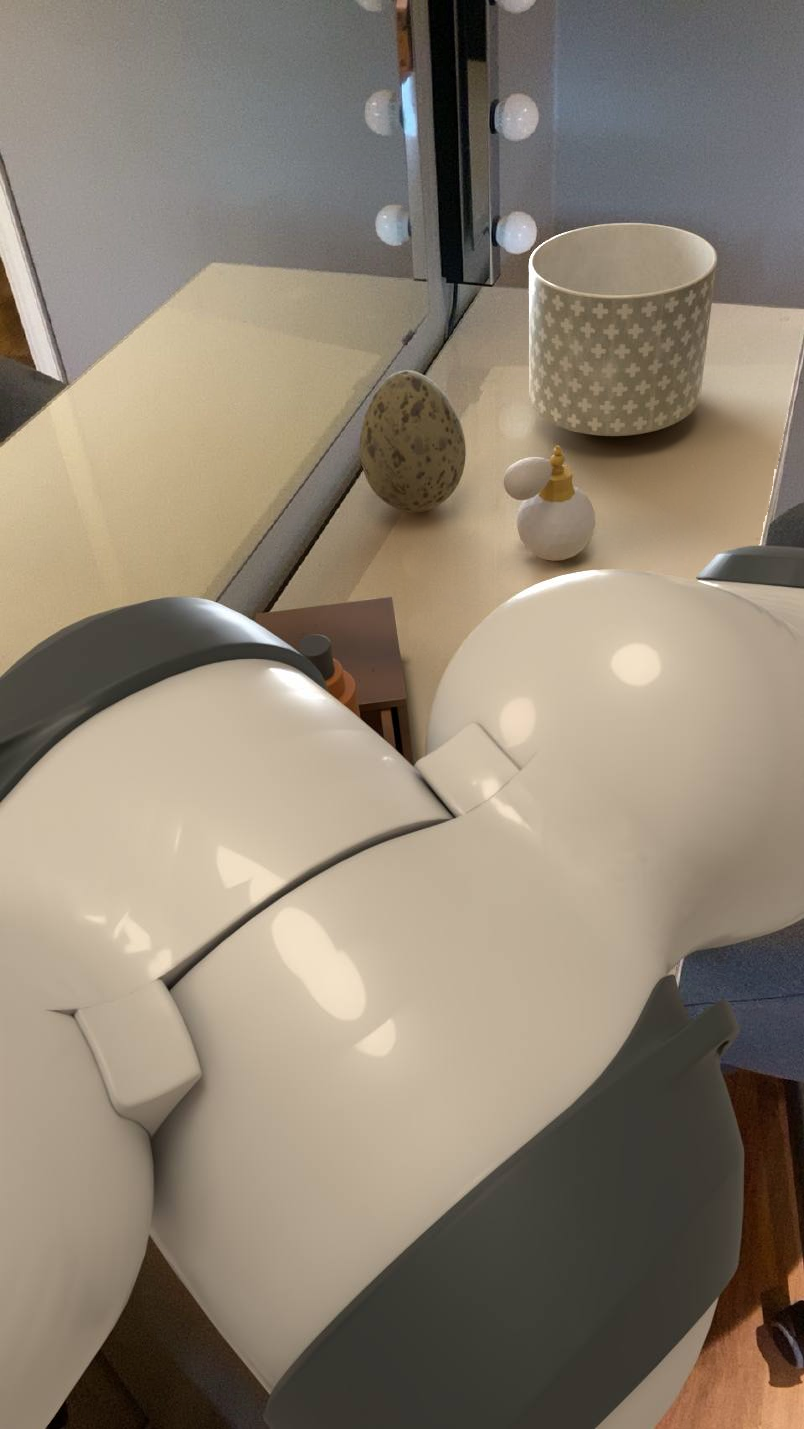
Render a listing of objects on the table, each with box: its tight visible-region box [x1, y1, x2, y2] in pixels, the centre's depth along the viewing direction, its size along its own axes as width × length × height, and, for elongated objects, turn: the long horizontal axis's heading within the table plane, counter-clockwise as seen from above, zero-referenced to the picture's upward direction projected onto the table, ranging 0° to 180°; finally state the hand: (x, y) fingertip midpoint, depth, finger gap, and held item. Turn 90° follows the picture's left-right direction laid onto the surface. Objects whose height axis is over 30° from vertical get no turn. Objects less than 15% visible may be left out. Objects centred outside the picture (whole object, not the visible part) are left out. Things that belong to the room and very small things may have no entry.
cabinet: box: [255, 596, 415, 767], centre depth 86 cm, size 13×12×8 cm
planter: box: [528, 222, 718, 437], centre depth 114 cm, size 19×19×18 cm
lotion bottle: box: [297, 635, 361, 719], centre depth 75 cm, size 5×5×16 cm
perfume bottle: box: [503, 444, 596, 561], centre depth 99 cm, size 8×10×12 cm
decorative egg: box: [359, 369, 467, 513], centre depth 106 cm, size 11×11×15 cm
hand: (464, 732), depth 70 cm, fingers open, 8 cm apart
